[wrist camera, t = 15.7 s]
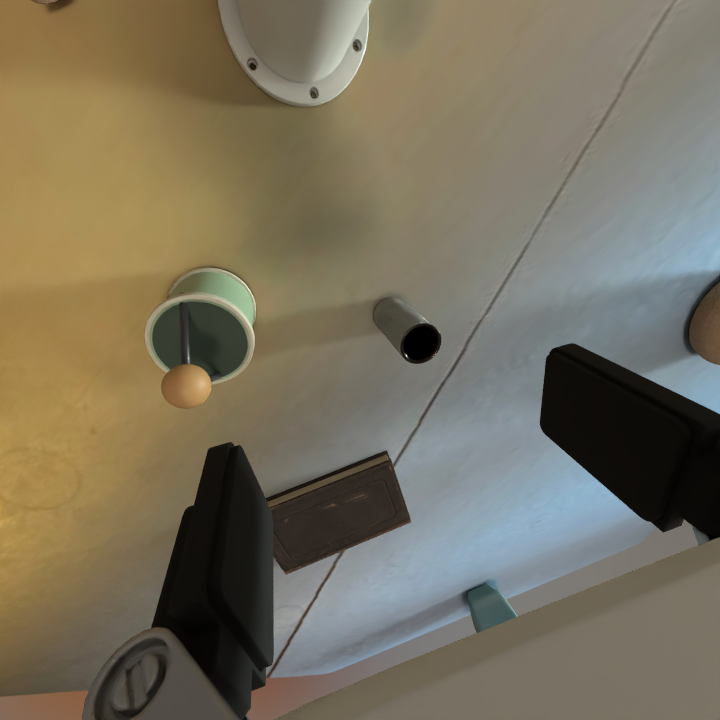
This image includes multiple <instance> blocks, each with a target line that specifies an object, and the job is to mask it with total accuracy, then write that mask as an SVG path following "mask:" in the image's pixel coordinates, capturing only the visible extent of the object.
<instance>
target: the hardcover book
mask: <svg viewBox="0 0 720 720" xmlns="http://www.w3.org/2000/svg"><path fill="white" fill-rule="evenodd" d="M266 500H267V503H268V505H269V507H270V509H271V512H272V517H273V557H274V558H275V559H276V561H277V562H278V564H279V565H280V567H281V568H282V569H283V571H284V572H285V574H288V573H291V572H293V571H296V570H298V569H300V568H303V567H305V566H308V565H310V564H312V563H315V562H317V561H319V560H322V559H324V558H327V557H329V556H331V555H334V554H336V553H339V552H341V551H343V550H346V549H348V548H351V547H353V546H355V545H358V544H360V543H362V542H365V541H367V540H370V539H372V538H374V537H377V536H379V535H382V534H384V533H386V532H389V531H391V530H394V529H396V528H398V527H401V526H403V525H405V524H408V523H410V522H411V519H410V516H409V513H408V510H407V507H406V504H405V501H404V498H403V495H402V492H401V489H400V486H399V483H398V480H397V476H396V473H395V470H394V467H393V464H392V461H391V459H390V458H389V455H388V452H387V451H385V452H383V453H380V454H378V455H375V456H373V457H370V458H368V459H365V460H363V461H360V462H358V463H355V464H353V465H350V466H348V467H345V468H342V469H340V470H337V471H335V472H332V473H330V474H327V475H325V476H322V477H320V478H317V479H315V480H312V481H310V482H307V483H305V484H302V485H300V486H297V487H295V488H292V489H290V490H287V491H285V492H282V493H280V494H277V495H275V496H272V497H270V498H267V499H266Z"/></svg>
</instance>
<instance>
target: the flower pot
mask: <svg viewBox="0 0 720 720" xmlns="http://www.w3.org/2000/svg"><path fill="white" fill-rule="evenodd" d="M468 601H469V606H470V611H471V616H472V620H473V624H474V627H475V630H476V632H477V633H478V632H481V631H483V630H486V629H488V628H491V627H493V626H496V625H498V624H501V623H503V622H506V621H508V620H511V619H513V618H516V617H518V616H517V614H516V613H515V612H514V610H513V609H512V607H511V606H510V605H509V604H508V602H507V601H506V599H505V598H504V597H503V595H502V594H501V593H500V592H499V591H498V590H497V589H495V588H494V587H492V586H491V585H489V584H484V585H482V586H480V587H478V588H476V589H473V590H471V591H469V592H468Z"/></svg>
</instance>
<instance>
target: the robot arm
mask: <svg viewBox="0 0 720 720" xmlns="http://www.w3.org/2000/svg"><path fill="white" fill-rule="evenodd" d="M370 2H371V0H218V7H219V11H220V16H221V21H222V25H223V28H224V32H225V35H226V38H227V40H228V43H229V45H230V47H231V49H232V52H233V54H234V56H235V58H236V59H237V61H238V62H239V64H240V66H241V67H242V69H243V70H244V72H245V73H246V74H247V75H248V76H249V78H250V79H251V80H252V81H253V82H254V83H255V84H256V85H257V86H258V87H259V88H260V89H262V90H263V91H264V92H265V93H266V94H268V95H269V96H271V97H273V98H275V99H276V100H278V101H280V102H283V103H286V104H289V105H292V106H300V107H310V106H317V105H320V104H323V103H325V102H328V101H330V100H332V99H333V98H334V97H336V96H337V95H339V94H340V93H341V92H342V91H343V90H344V89H345V88H346V87H347V86H348V84H349V83H350V82H351V80H352V79H353V77H354V76H355V74H356V72H357V70H358V68H359V66H360V64H361V62H362V59H363V56H364V53H365V49H366V44H367V37H368V30H369V11H368V6H369V4H370ZM354 46H356V47H357V49H358V51H357V52H356V51H355V50H354V49H353V47H354ZM252 64H254V65H255V67H256V69H255V70H251V69H250V65H252ZM311 93H314V94H315V95H316V97H315V98H312V97H311V95H310V94H311ZM540 427H541V429H542V431H543V432H544V434H545V435H546V436H548V437H549V438H550V439H551V440H552V441H553V442H554V443H556V444H557V445H558V446H559V447H560V448H561V449H563V450H564V451H565V452H566V453H567V454H568V455H569V456H571V457H572V458H573V459H574V460H575V461H576V462H577V463H579V464H580V465H581V466H582V467H583V468H584V469H586V470H587V471H588V472H589V473H590V474H591V475H592V476H594V477H595V478H596V479H597V480H598V481H599V482H600V483H602V484H603V485H604V486H605V487H606V488H607V489H608V490H610V491H611V492H612V493H613V494H614V495H615V496H617V497H618V498H619V499H620V500H621V501H622V502H623V503H625V504H626V505H627V506H628V507H629V508H630V509H631V510H633V511H634V512H635V513H636V514H637V515H638V516H640V517H641V518H642V519H644V520H646V521H649V522H652V523H653V524H654V525H655V526H656V527H657V528H659V529H660V530H661V531H662V532H666V531H668V530H671V529H673V528H676V527H679V526H681V525H682V523H683V521H684V519H685V520H686V521H687V522H688V523H690V524H691V525H692V528H693V531H694V534H695V536H696V539H697V542H698V546H696V547H693V548H691V549H688V550H685V551H683V552H680V553H678V554H675V555H673V556H670V557H667V558H665V559H662V560H660V561H657V562H655V563H652V564H650V565H647V566H644V567H642V568H639V569H637V570H634V571H632V572H629V573H627V574H624V575H622V576H619V577H617V578H614V579H612V580H609V581H606V582H604V583H601V584H599V585H596V586H594V587H591V588H589V589H586V590H584V591H581V592H579V593H576V594H573V595H571V596H568V597H566V598H564V599H561V600H559V601H556V602H553V603H551V604H549V605H546V606H543V607H541V608H538V609H536V610H533V611H531V612H528V613H526V614H523V615H521V616H518V617H516V618H513V619H511V620H508V621H506V622H503V623H501V624H498V625H496V626H493V627H491V628H488V629H486V630H483V631H481V632H478V633H476V634H473V635H471V636H468V637H466V638H464V639H461V640H458V641H456V642H454V643H451V644H449V645H446V646H444V647H441V648H439V649H436V650H434V651H431V652H429V653H426V654H424V655H421V656H419V657H416V658H414V659H411V660H409V661H406V662H404V663H401V664H399V665H396V666H394V667H392V668H389V669H387V670H384V671H382V672H380V673H378V674H375V675H373V676H370V677H368V678H366V679H363V680H361V681H359V682H357V683H354V684H352V685H349V686H347V687H345V688H342V689H340V690H338V691H335V692H333V693H330V694H328V695H326V696H323V697H321V698H319V699H316V700H314V701H312V702H310V703H307V704H305V705H303V706H301V707H299V708H297V709H295V710H293V711H291V712H289V713H287V714H285V715H283V716H281V717H279V718H277V719H275V720H720V414H718V413H716V412H714V411H712V410H710V409H708V408H706V407H704V406H702V405H700V404H698V403H696V402H694V401H692V400H690V399H687V398H685V397H683V396H681V395H679V394H677V393H675V392H673V391H671V390H669V389H667V388H665V387H663V386H661V385H659V384H657V383H655V382H652V381H650V380H648V379H646V378H644V377H642V376H640V375H638V374H636V373H634V372H632V371H630V370H628V369H626V368H624V367H622V366H620V365H617V364H615V363H613V362H611V361H609V360H607V359H605V358H603V357H601V356H599V355H597V354H595V353H593V352H591V351H589V350H587V349H585V348H583V347H580V346H578V345H576V344H573V343H572V344H567V345H563V346H560V347H556V348H554V349H552V350H551V351H550V354H549V355H548V356H547V358H546V365H545V376H544V386H543V396H542V406H541V416H540ZM273 655H274V638H273V517H272V512H271V509H270V507H269V505H268V503H267V500H266V498H265V496H264V494H263V492H262V490H261V487H260V485H259V483H258V481H257V479H256V476H255V474H254V472H253V470H252V468H251V466H250V463H249V461H248V459H247V457H246V455H245V453H244V450H243V448H242V447H241V445H238V446H234V444H233V443H232V442H229V443H225V444H222V445H219V446H215V447H212V448H209V449H208V452H207V456H206V460H205V464H204V468H203V472H202V476H201V479H200V483H199V487H198V491H197V495H196V499H195V503H194V505H193V506H190V507H188V508H187V509H186V510H185V512H184V514H183V516H182V520H181V524H180V527H179V531H178V534H177V538H176V541H175V545H174V549H173V552H172V556H171V559H170V563H169V566H168V570H167V573H166V577H165V581H164V584H163V588H162V591H161V595H160V598H159V602H158V606H157V609H156V613H155V616H154V620H153V623H152V627H151V629H148V630H144V631H142V632H141V633H139V634H137V635H135V636H133V637H132V638H130V639H129V640H128V641H127V642H125V643H124V644H123V645H122V646H121V647H119V648H118V649H117V650H116V651H115V652H114V654H113V655H112V656H111V657H110V658H109V659H108V661H107V662H106V663H105V664H104V665H103V667H102V668H101V670H100V672H99V673H98V675H97V676H96V678H95V679H94V681H93V683H92V685H91V688H90V690H89V692H88V695H87V697H86V699H85V704H84V709H83V714H82V720H250V719H249V718H248V717H247V716H246V714H247V712H248V711H249V709H250V707H251V691H253V690H255V689H258V688H261V687H263V686H265V683H266V682H265V680H266V667H269V666H271V665H272V663H273Z"/></svg>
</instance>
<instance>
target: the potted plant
mask: <svg viewBox="0 0 720 720" xmlns="http://www.w3.org/2000/svg"><path fill="white" fill-rule="evenodd" d="M689 340H690V343H691V345H692V348H693V349H694V350H695V351H696V352H697V353H698V354H699V355H700V356H701V357H702V358H704V359H705V360H707V361H709V362H711V363H714V364H718V365H720V282H719V283H718V284H716V285H715V286H714V287H713V288H712V289H711V290H710V291H709V292H708V293H707V294H706V295H705V297H704V298H703V299H702V301H701V302H700V304H699V305H698V307H697V308H696V310H695V313H694V315H693V317H692V319H691V323H690V327H689Z"/></svg>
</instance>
